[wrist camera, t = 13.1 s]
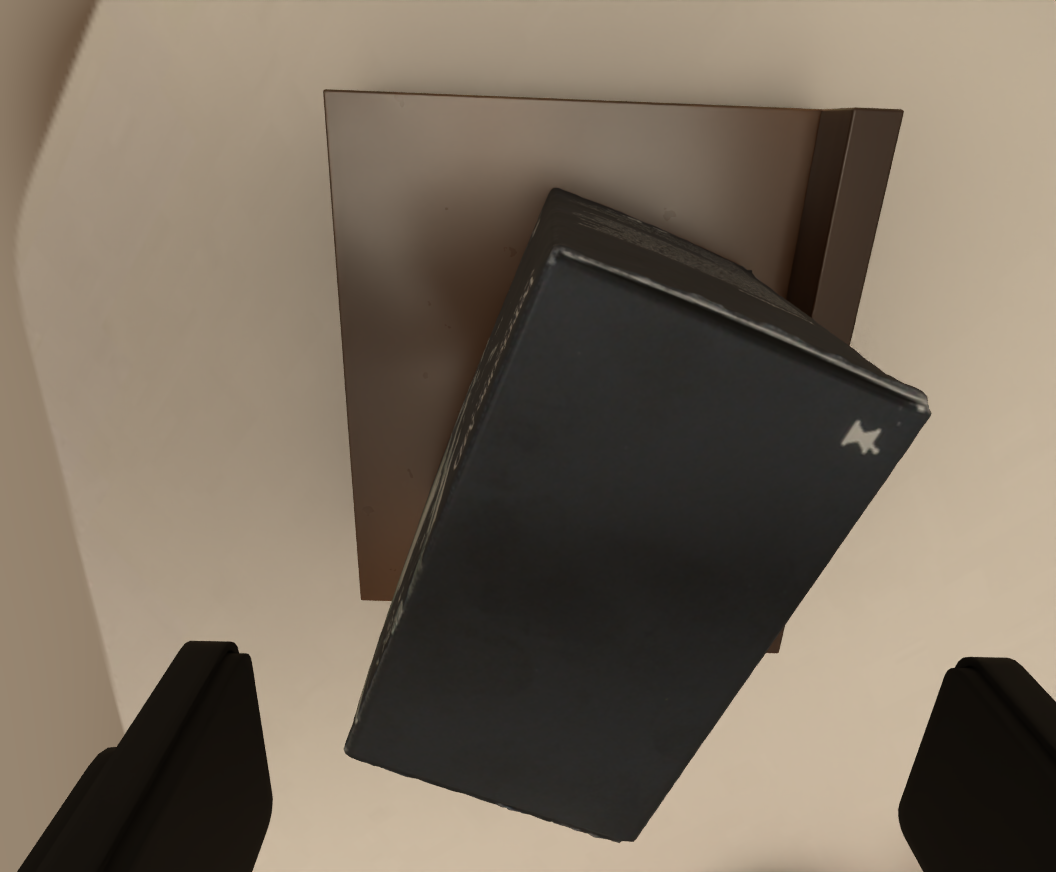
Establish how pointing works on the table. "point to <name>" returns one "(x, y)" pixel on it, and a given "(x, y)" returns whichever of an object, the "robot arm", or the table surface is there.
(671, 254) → the box
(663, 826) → the table surface
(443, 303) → the shelf
